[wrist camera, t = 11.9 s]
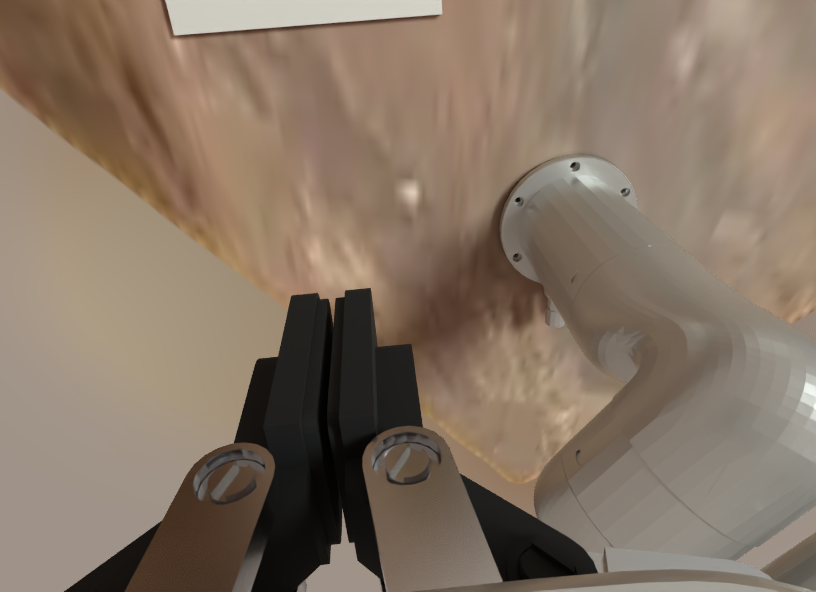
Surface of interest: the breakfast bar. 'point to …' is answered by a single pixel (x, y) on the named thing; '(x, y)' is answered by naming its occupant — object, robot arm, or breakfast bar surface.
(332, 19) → the mat
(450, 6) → the breakfast bar surface
